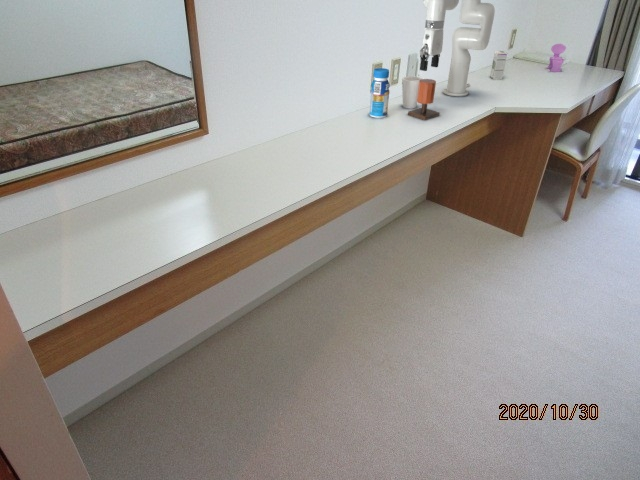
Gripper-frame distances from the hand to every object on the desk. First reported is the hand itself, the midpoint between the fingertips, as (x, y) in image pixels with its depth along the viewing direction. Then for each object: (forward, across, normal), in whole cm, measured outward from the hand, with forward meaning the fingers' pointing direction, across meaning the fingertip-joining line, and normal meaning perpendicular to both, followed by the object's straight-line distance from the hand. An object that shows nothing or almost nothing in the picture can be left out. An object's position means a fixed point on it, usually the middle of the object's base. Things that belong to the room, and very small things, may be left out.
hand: (428, 68), depth 194 cm
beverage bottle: (+21, -13, +16) cm, 29 cm away
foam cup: (+20, +8, +12) cm, 25 cm away
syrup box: (+20, +90, +2) cm, 92 cm away
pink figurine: (+19, +132, -17) cm, 135 cm away
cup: (+14, 0, 0) cm, 14 cm away
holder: (+20, 0, 0) cm, 20 cm away
